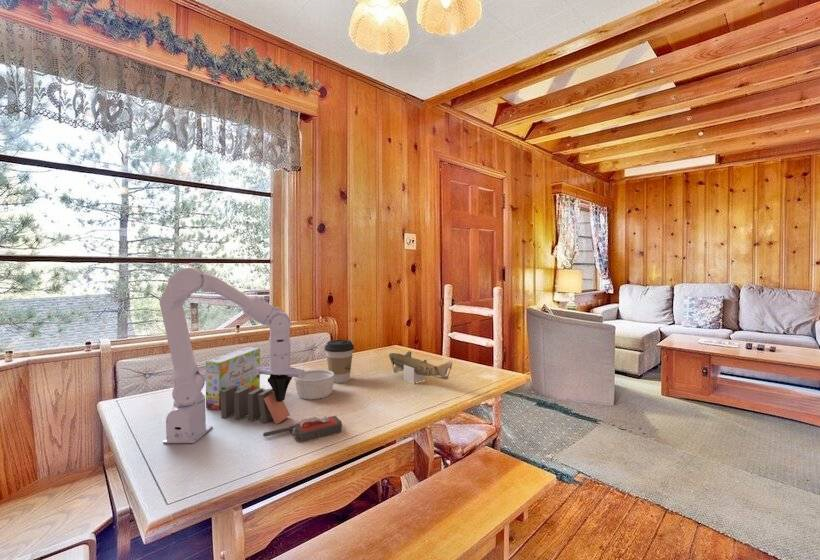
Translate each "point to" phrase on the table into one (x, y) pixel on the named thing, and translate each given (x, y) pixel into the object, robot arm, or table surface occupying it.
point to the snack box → (231, 374)
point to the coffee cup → (339, 359)
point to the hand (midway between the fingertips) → (280, 400)
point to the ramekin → (315, 384)
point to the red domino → (276, 408)
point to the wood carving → (417, 368)
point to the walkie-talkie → (311, 428)
